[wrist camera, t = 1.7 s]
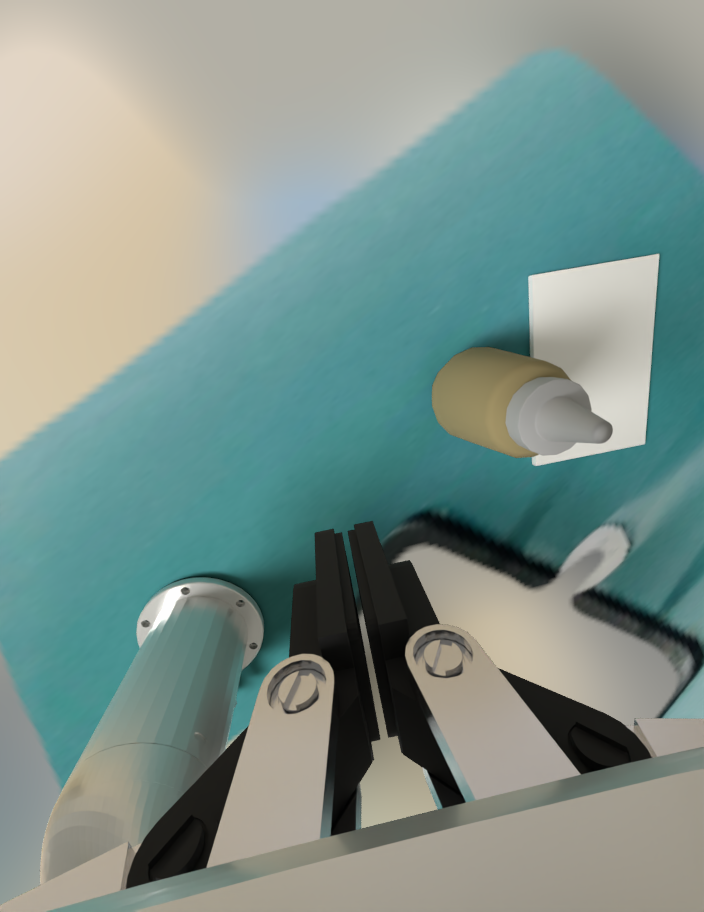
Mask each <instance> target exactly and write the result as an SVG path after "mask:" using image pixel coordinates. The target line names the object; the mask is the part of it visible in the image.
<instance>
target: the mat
mask: <svg viewBox="0 0 704 912" xmlns="http://www.w3.org/2000/svg"><path fill="white" fill-rule="evenodd" d="M658 265H659V254H655V255H649V256H643V257H637V258H631V259H625V260H619V261H614V262H608V263H602V264H596V265H590V266H584V267H578V268H572V269H566V270H560V271H554V272H548V273H542V274H536V275H531V276H529V324H530V357H532V358H536V359H540V360H544V361H547V362H549V363H551V364H553V365H556V366H558V367H560V368H562V369H563V371H564V372H565V373H566V374H567V376H568V377H569V378H570V379H571V381H573V382H575V383H577V384H580V385H581V387H582V388H583V389H584V390H585V392H586V393H587V394H588V396H589V400H590V404H591V409H592V410H591V412H593V413H594V414H596V415H598V416H599V417H601V418H603V419H604V420H606V421H608V422H609V423H610V424H611V425H612V427H613V433H612V435H611V437H610V439H609V440H608V441H607V442H605V443H602V444H593V443H576V444H575V445H574V446H573V447H571V448H570V449H568V450H566V451H564V452H562V453H560V454H557V455H545V456H542V455H540V454H539V455H537V456H534V457H532V464H533V465H535V466H538V465H543V464H548V463H553V462H558V461H563V460H568V459H573V458H578V457H583V456H588V455H593V454H598V453H603V452H608V451H613V450H618V449H623V448H628V447H633V446H638V445H643V444H645V437H646V424H647V411H648V397H649V384H650V371H651V358H652V344H653V331H654V318H655V305H656V291H657V278H658Z"/></svg>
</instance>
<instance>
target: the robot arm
mask: <svg viewBox="0 0 704 912" xmlns="http://www.w3.org/2000/svg"><path fill="white" fill-rule="evenodd" d="M354 528H355V530H351V531H348V536H349V541H350V546H351V551H352V556H353V562H354V567H355V572H356V577H357V582H358V588H359V593H360V598H361V603H362V608H363V614H364V619H365V624H366V629H367V634H368V638H369V643H370V649H371V654H372V659H373V664H374V669H375V673H376V679H377V683H378V689H379V693H380V699H381V703H382V708H383V713H384V718H385V724H386V729H387V734H388V737H394V736H398V739H399V744H400V748H401V752H402V753H403V754H404V755H405V756H407V757H408V758H409V759H411V760H412V761H414V762H415V763H417V764H418V765H420V766H421V767H423V772H424V775H425V779H426V782H427V784H428V787H429V789H430V792H431V794H432V797H433V799H434V802H435V804H436V806H437V809H438V810H434V811H430V812H427V813H422V814H418V815H415V816H410V817H406V818H402V819H398V820H394V821H390V822H386V823H383V824H378V825H374V826H370V827H366V828H362V829H361V788H360V781H361V780H362V778H363V776H364V775H365V773H366V772H367V770H368V768H369V767H370V765H371V763H372V760H374V757H373V751H372V745H371V742H372V741H376V740H380V735H379V729H378V723H377V717H376V712H375V707H374V701H373V695H372V690H371V684H370V678H369V673H368V668H367V663H366V656H365V651H364V645H363V640H362V634H361V629H360V623H359V617H358V612H357V607H356V602H355V597H354V592H353V587H352V582H351V577H350V572H349V567H348V561H347V556H346V551H345V546H344V541H343V536H342V532H341V533H336V534H335V533H334V529H330V530H325V531H321V532H316V533H315V560H316V580H313V581H308V582H303V583H299V584H295V585H294V588H293V602H292V618H291V634H290V650H289V658H288V659H286V660H283V661H281V662H280V663H279V664H278V665H276V666H275V667H274V668H273V669H272V670H271V671H270V672H269V673H268V675H267V676H266V677H265V678H264V681H263V683H262V685H261V687H260V690H259V693H258V697H257V700H256V703H255V707H254V710H253V713H252V717H251V720H250V723H249V726H248V727H247V728H246V729H245V730H244V731H243V732H242V733H241V734H240V735H239V736H238V737H237V739H236V740H235V741H234V742H233V743H232V744H231V745H230V746H229V747H228V748H227V749H226V746H227V741H228V736H229V731H230V726H231V721H232V716H233V711H234V707H235V706H236V704H237V702H236V696H237V691H238V686H239V681H240V676H241V671H242V670H243V669H244V668H245V667H247V666H248V665H249V664H250V663H251V662H252V660H253V659H254V658H255V657H256V655H257V653H258V652H259V650H260V647H261V644H262V641H263V635H264V620H263V617H262V613H261V611H260V609H259V607H258V605H257V603H256V602H255V601H254V600H253V599H252V597H251V596H250V595H249V594H247V593H246V592H245V591H244V590H242V589H241V588H239V587H237V586H235V585H233V584H232V583H229V582H226V581H223V580H220V579H214V578H207V577H199V578H189V579H183V580H180V581H177V582H174V583H171V584H169V585H168V586H166V587H164V588H162V589H161V590H160V591H158V592H157V593H156V594H155V595H154V596H152V598H151V599H150V600H149V602H148V603H147V604H146V606H145V607H144V609H143V611H142V613H141V614H140V617H139V620H138V623H137V633H136V634H137V640H138V644H139V647H140V649H139V651H138V653H137V655H136V657H135V658H134V660H133V662H132V664H131V666H130V668H129V669H128V671H127V673H126V675H125V677H124V679H123V680H122V682H121V684H120V686H119V688H118V689H117V691H116V693H115V695H114V697H113V699H112V700H111V702H110V704H109V706H108V708H107V710H106V711H105V713H104V715H103V717H102V719H101V720H100V722H99V724H98V726H97V728H96V730H95V731H94V733H93V735H92V737H91V739H90V741H89V742H88V744H87V746H86V748H85V750H84V751H83V753H82V755H81V757H80V759H79V761H78V762H77V764H76V766H75V768H74V770H73V772H72V773H71V775H70V777H69V779H68V781H67V782H66V784H65V786H64V788H63V790H62V792H61V794H60V796H59V798H58V800H57V802H56V803H55V806H54V808H53V810H52V813H51V815H50V818H49V822H48V824H47V827H46V831H45V836H44V840H43V845H42V853H41V865H40V886H38V887H36V888H34V889H32V890H30V891H28V892H25V893H24V894H21V895H19V896H17V897H15V898H13V899H11V900H9V901H7V902H5V903H4V904H1V905H0V912H704V719H663V718H635V721H634V725H624V724H622V723H621V722H620V721H618V720H616V719H614V718H612V717H611V716H609V715H607V714H605V713H603V712H600V711H598V710H595V709H593V708H591V707H589V706H586V705H584V704H582V703H579V702H577V701H574V700H572V699H570V698H567V697H565V696H563V695H560V694H558V693H556V692H553V691H551V690H548V689H546V688H544V687H541V686H539V685H537V684H534V683H532V682H529V681H527V680H525V679H523V678H520V677H518V676H516V675H513V674H511V673H508V672H506V671H504V670H501V669H499V668H497V667H496V665H495V664H494V663H493V661H492V660H491V659H490V658H489V656H488V655H487V654H486V653H485V651H484V650H483V649H482V647H481V646H480V645H479V644H478V642H477V641H476V640H475V639H474V638H473V637H472V636H471V635H470V634H469V633H468V632H466V631H464V630H462V629H460V628H458V627H455V626H450V625H443V624H439V621H438V619H437V617H436V615H435V613H434V611H433V608H432V606H431V604H430V602H429V599H428V597H427V595H426V593H425V591H424V589H423V587H422V585H421V582H420V580H419V578H418V576H417V573H416V571H415V569H414V567H413V565H412V563H411V562H410V560H408V561H403V562H398V563H394V564H389V565H388V563H387V561H386V558H385V555H384V552H383V549H382V546H381V544H380V541H379V538H378V535H377V532H376V529H375V527H374V524H373V521H370V522H365V523H360V524H355V525H354Z"/></svg>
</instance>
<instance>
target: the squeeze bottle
mask: <svg viewBox="0 0 704 912" xmlns="http://www.w3.org/2000/svg"><path fill="white" fill-rule="evenodd" d="M432 407H433V409H434V412H435V415H436V418H437V420H438V423H439V424H440V425H441V426H442V427H443V428H444V429H445V430H446V431H447V432H448V433H449V434H450V435H453V436H456V437H458V438H461V439H464V440H466V441H469V442H472V443H475V444H478V445H481V446H484V447H486V448H489V449H492V450H495V451H498V452H501V453H504V454H507V455H509V456H512V457H515V458H522V457H534V456H537V455H539V454H540V455H542V456H545V455H557V454H560V453H562V452H564V451H566V450H568V449H570V448H571V447H573V446H574V445H575V444H576V443H593V444H602V443H605V442H607V441H608V440H609V439H610V437H611V435H612V433H613V427H612V425H611V424H610V423H609V422H608V421H606V420H604V419H603V418H601V417H599V416H598V415H596V414H594V413H593V412H591V410H592V409H591V404H590V400H589V396H588V394H587V393H586V392H585V390H584V389H583V388H582V387H581V385H580V384H577V383H575V382H573V381H571V379H570V378H569V377H568V376H567V374H566V373H565V372H564V371H563V369H562V368H560V367H558V366H556V365H553V364H551V363H549V362H547V361H544V360H540V359H536V358H532V357H528V356H524V355H520V354H516V353H512V352H508V351H503V350H499V349H495V348H491V347H474V348H470V349H468V350H465V351H463V352H461V353H459V354H457V355H454V356H453V357H452V359H451V360H450V361H449V362H448V363H447V364H446V365H445V366H444V367H443V368H442V369H441V370H440V371H439V372H438V374H437V376H436V378H435V381H434V383H433V385H432Z"/></svg>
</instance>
